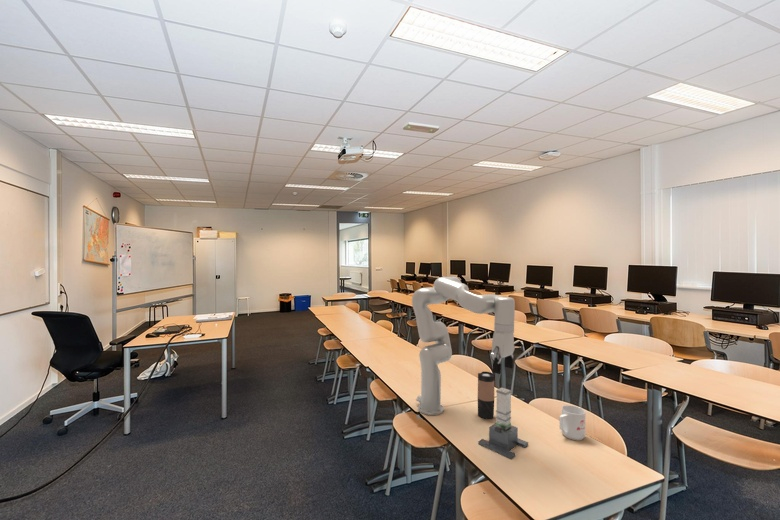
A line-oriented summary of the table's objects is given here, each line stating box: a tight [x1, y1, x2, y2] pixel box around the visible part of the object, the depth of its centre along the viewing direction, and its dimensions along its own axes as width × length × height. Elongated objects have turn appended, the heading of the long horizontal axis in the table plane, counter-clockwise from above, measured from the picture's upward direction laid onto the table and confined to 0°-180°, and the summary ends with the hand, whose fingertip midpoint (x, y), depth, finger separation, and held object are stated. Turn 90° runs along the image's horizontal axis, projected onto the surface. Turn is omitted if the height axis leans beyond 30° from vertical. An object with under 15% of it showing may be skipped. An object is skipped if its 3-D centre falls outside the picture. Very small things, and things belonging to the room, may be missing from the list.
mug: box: [558, 404, 586, 441], centre depth 143 cm, size 12×9×11 cm
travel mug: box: [477, 371, 495, 421], centre depth 161 cm, size 8×8×20 cm
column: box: [495, 387, 512, 432], centre depth 136 cm, size 4×4×16 cm
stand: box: [478, 422, 529, 460], centre depth 136 cm, size 14×14×8 cm
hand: (502, 370), depth 136 cm, fingers open, 9 cm apart
